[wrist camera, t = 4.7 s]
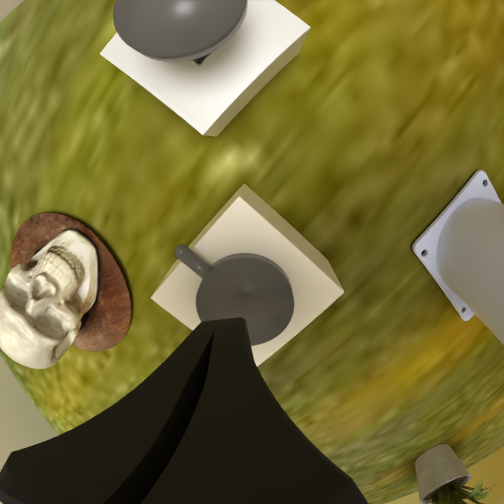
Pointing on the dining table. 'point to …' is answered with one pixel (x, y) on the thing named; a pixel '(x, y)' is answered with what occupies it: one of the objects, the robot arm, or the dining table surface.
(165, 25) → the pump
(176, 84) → the square base with knob
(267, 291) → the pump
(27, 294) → the skull
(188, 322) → the off-white square plinth
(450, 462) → the house plant
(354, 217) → the dining table surface
